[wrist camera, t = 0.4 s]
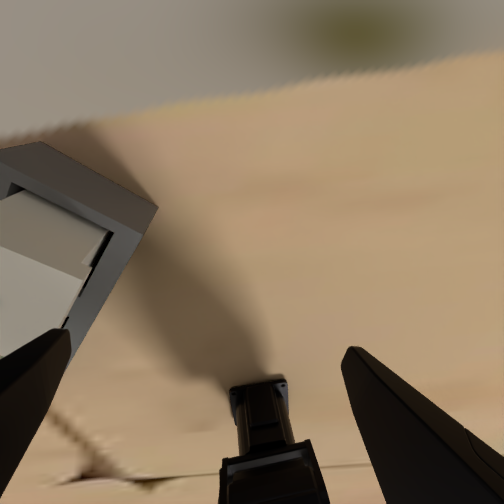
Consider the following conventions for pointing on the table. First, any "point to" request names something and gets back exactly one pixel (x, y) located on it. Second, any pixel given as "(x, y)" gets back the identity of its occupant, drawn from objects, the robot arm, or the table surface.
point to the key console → (88, 206)
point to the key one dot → (41, 265)
